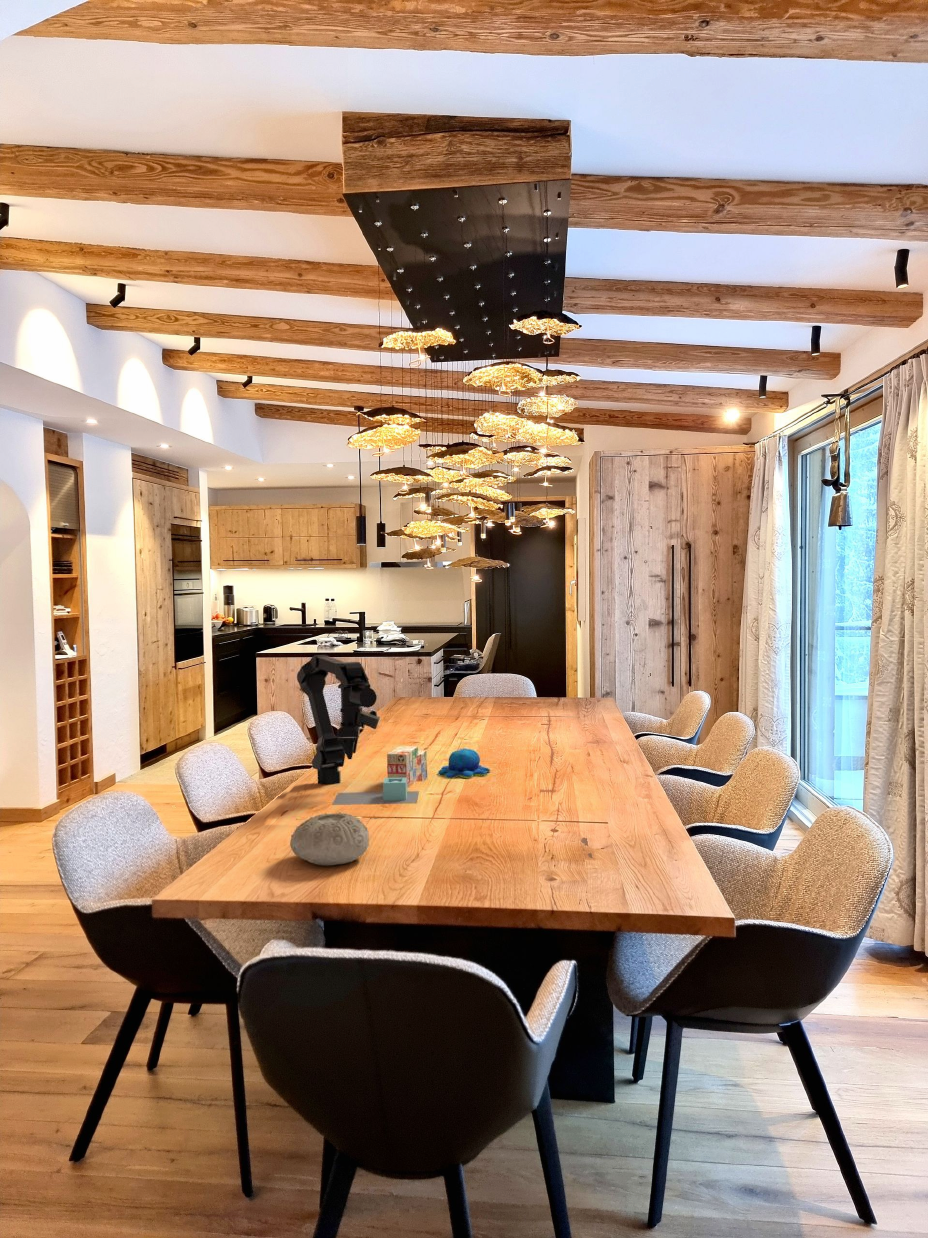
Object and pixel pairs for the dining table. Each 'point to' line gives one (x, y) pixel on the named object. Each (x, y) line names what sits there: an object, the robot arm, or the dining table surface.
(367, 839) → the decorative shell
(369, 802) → the grey piece
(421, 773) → the stack of blocks
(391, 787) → the teal hollow block
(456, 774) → the plush toy
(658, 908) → the dining table surface
